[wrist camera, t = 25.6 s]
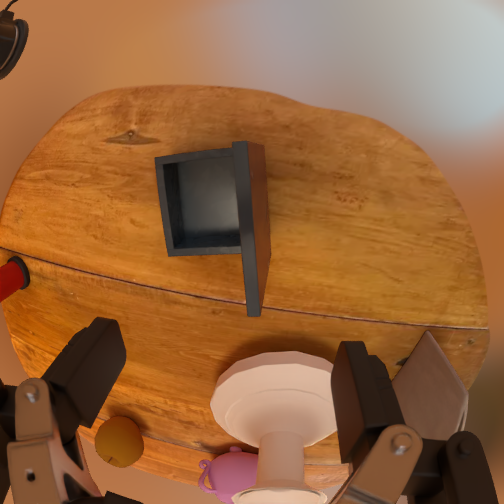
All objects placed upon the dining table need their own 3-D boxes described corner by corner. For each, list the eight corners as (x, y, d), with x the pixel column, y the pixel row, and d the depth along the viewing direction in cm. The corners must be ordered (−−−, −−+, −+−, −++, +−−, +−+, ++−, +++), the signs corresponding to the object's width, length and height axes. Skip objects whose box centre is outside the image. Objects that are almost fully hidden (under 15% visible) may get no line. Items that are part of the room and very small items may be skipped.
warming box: (182, 242, 33) (168, 256, 29) (171, 155, 30) (154, 157, 26) (268, 237, 32) (267, 252, 28) (262, 146, 29) (260, 145, 25)
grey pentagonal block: (407, 407, 41) (435, 493, 22) (372, 404, 40) (396, 501, 22) (459, 337, 35) (517, 423, 17) (426, 329, 35) (485, 429, 17)
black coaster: (6, 256, 37) (3, 258, 36) (24, 255, 37) (20, 257, 36) (16, 286, 39) (12, 289, 38) (33, 287, 39) (30, 290, 38)
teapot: (307, 454, 47) (309, 505, 35) (278, 478, 52) (276, 521, 40) (211, 432, 46) (199, 486, 34) (195, 459, 51) (184, 504, 39)
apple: (159, 427, 47) (141, 473, 36) (139, 439, 50) (122, 478, 39) (118, 400, 46) (93, 444, 35) (103, 414, 49) (81, 453, 38)
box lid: (247, 317, 17) (260, 316, 17) (231, 142, 14) (247, 140, 14) (262, 254, 28) (271, 254, 27) (255, 145, 24) (264, 144, 24)
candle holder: (218, 327, 37) (179, 452, 19) (365, 342, 36) (404, 460, 18) (215, 417, 44) (192, 511, 26) (327, 427, 43) (336, 520, 25)
